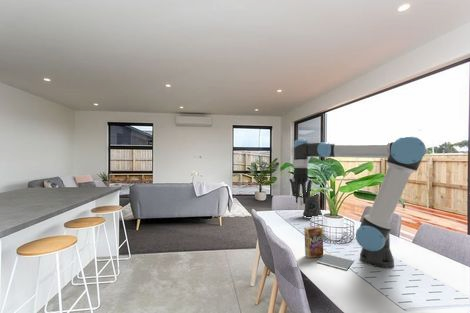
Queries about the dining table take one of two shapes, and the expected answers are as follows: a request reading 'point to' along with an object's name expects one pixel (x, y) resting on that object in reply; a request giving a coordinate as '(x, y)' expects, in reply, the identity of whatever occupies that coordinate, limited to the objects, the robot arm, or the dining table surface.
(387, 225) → the robot arm
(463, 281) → the dining table surface
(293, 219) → the dining table surface
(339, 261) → the mat
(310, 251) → the candy box
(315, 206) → the beer stein
